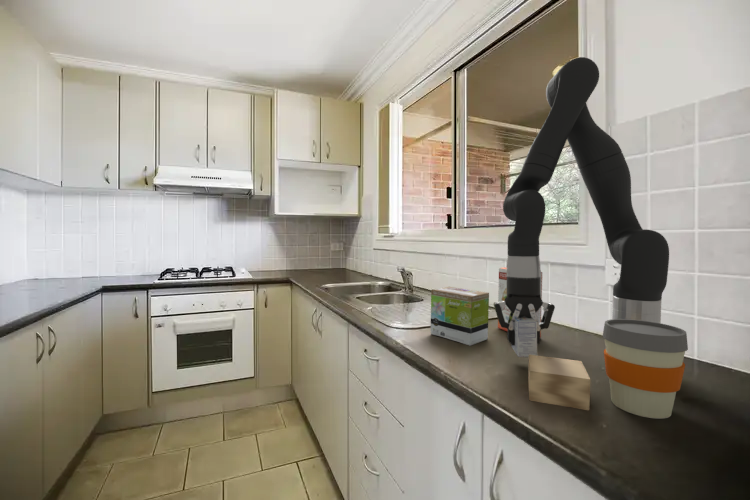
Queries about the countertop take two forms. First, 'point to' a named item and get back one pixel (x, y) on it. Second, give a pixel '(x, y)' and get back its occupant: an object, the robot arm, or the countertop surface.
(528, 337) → the medicine box
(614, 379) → the reusable coffee cup
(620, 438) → the countertop surface
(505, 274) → the cracker box
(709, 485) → the countertop surface
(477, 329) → the tea box
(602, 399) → the countertop surface
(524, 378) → the countertop surface
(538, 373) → the oak block
